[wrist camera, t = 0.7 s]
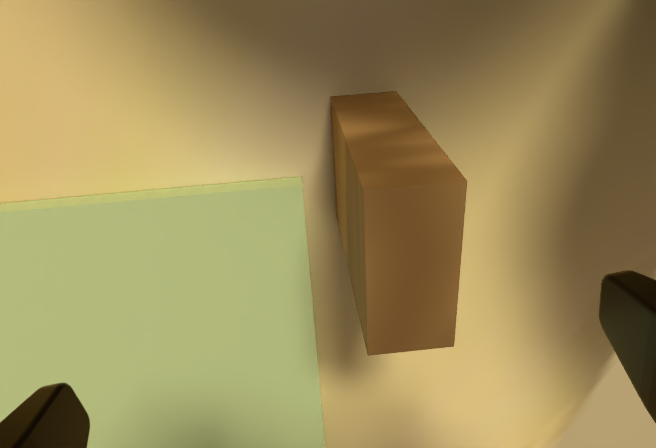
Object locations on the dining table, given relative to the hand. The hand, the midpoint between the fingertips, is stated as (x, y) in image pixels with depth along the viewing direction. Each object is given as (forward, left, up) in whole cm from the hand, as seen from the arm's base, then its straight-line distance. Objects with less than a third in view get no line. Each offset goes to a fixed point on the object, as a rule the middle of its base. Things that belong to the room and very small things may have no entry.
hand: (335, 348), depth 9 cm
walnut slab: (-2, +2, -12) cm, 12 cm away
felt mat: (+8, +11, -12) cm, 18 cm away
